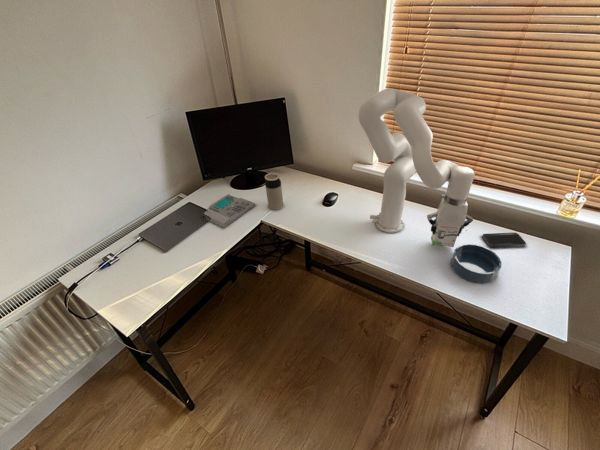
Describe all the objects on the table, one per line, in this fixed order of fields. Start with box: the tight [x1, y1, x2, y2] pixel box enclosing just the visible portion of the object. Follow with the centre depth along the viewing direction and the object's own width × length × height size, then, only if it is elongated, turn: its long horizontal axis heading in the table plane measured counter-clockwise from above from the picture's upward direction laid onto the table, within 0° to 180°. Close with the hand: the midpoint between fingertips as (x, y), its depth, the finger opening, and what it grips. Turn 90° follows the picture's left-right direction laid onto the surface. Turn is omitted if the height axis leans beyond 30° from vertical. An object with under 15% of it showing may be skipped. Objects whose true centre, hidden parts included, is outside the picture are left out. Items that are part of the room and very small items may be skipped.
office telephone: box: [203, 193, 256, 229], centre depth 159 cm, size 23×3×20 cm
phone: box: [481, 232, 527, 249], centre depth 130 cm, size 8×1×15 cm
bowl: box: [450, 243, 502, 284], centre depth 118 cm, size 16×16×6 cm
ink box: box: [430, 224, 461, 248], centre depth 126 cm, size 9×5×12 cm, turn 78°
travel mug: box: [264, 172, 284, 211], centre depth 155 cm, size 8×8×18 cm
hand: (445, 233), depth 126 cm, fingers closed on ink box, 8 cm apart
